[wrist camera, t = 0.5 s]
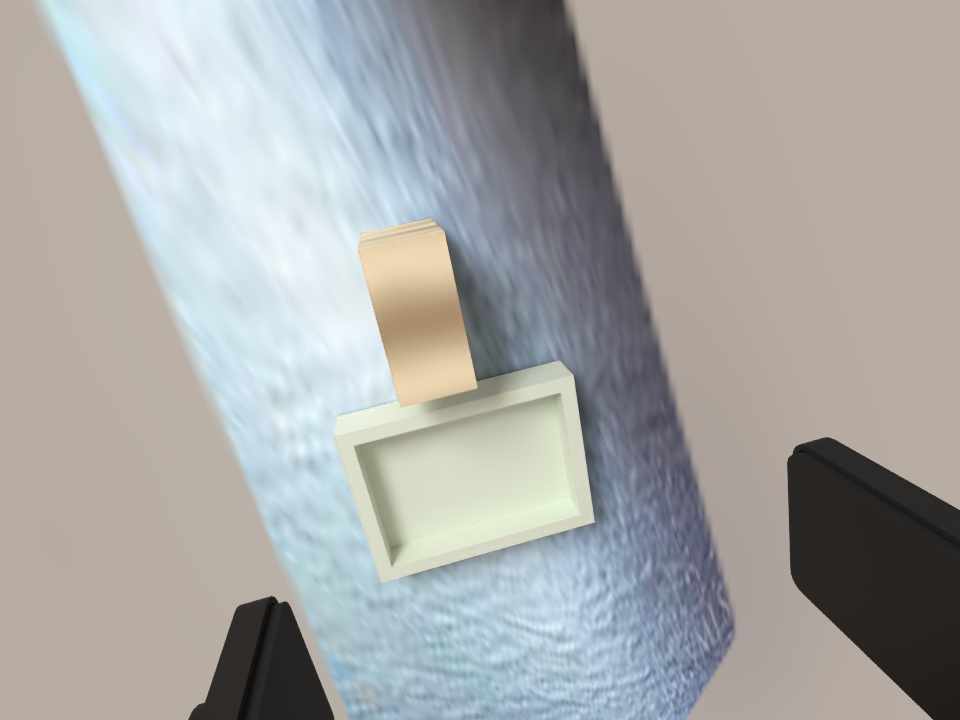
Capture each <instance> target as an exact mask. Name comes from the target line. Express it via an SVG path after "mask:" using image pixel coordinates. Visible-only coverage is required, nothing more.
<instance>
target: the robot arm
mask: <svg viewBox="0 0 960 720" xmlns="http://www.w3.org/2000/svg"><path fill="white" fill-rule="evenodd" d="M787 469H788V470H787V471H788V502H789V533H790V567H791V575H792V578H793V580H794V582H795V584H796V586H797V587H798V589H799V590H800V591H801V592H802V593H803V594H804V595H805V596H806V597H807V598H808V599H809V600H810V601H811V602H812V603H813V604H814V605H815V606H816V607H817V608H818V609H819V610H820V611H821V612H822V613H823V614H825V615H826V616H827V617H828V618H829V619H830V620H831V621H832V622H833V623H834V624H835V625H836V626H837V627H838V628H839V629H840V630H841V631H842V632H843V633H844V634H845V635H846V636H847V637H848V638H849V639H850V640H851V641H852V642H854V643H855V644H856V645H857V646H858V647H859V648H860V649H861V650H862V651H863V652H864V653H865V654H866V655H867V656H868V657H869V658H870V659H871V660H872V661H873V662H874V663H875V664H876V665H877V666H878V667H879V668H881V670H882V671H883V672H884V673H885V674H887V675H888V676H889V677H890V678H891V679H892V680H893V681H894V682H895V683H896V684H897V685H898V686H899V687H900V688H901V689H902V690H903V691H904V692H905V693H906V694H907V695H908V696H909V697H910V698H911V699H912V700H913V701H914V702H915V703H917V705H919V706H920V707H921V708H922V709H923V710H924V711H925V712H926V713H927V714H928V715H929V716H930V717H931V718H932V719H933V720H960V510H959V509H957V508H955V507H953V506H952V505H949V504H948V503H946V502H944V501H943V500H941V499H939V498H937V497H936V496H934V495H932V494H930V493H928V492H927V491H925V490H923V489H921V488H920V487H918V486H916V485H914V484H913V483H911V482H909V481H907V480H905V479H904V478H902V477H900V476H898V475H896V474H895V473H893V472H891V471H889V470H888V469H886V468H884V467H882V466H881V465H879V464H877V463H875V462H873V461H872V460H870V459H868V458H866V457H865V456H863V455H861V454H859V453H858V452H856V451H854V450H852V449H850V448H849V447H847V446H845V445H843V444H841V443H840V442H838V441H836V440H834V439H832V438H828V437H827V438H821V439H818V440H814V441H811V442H807V443H804V444H800V445H798V446H796V447H795V449H794V451H793V455H792V456H790V457H789V458H788V462H787ZM188 720H334V716H333V712H332V710H331V707H330V705H329V702H328V700H327V697H326V695H325V692H324V690H323V687H322V685H321V682H320V680H319V677H318V675H317V672H316V670H315V667H314V665H313V662H312V660H311V657H310V655H309V652H308V650H307V647H306V644H305V642H304V639H303V637H302V634H301V632H300V629H299V627H298V624H297V622H296V619H295V617H294V614H293V612H292V609H291V607H290V605H289V603H287V602H281V603H278V601H277V599H276V598H275V597H272V596H271V597H267V598H263V599H260V600H256V601H253V602H250V603H246V604H242V605H240V606H238V607H237V609H236V611H235V613H234V616H233V619H232V622H231V625H230V628H229V632H228V634H227V637H226V641H225V644H224V647H223V650H222V653H221V656H220V659H219V662H218V665H217V668H216V671H215V674H214V677H213V680H212V683H211V686H210V690H209V692H208V695H207V698H206V701H205V703H202V704H199V705H198V706H197V707H196V708H195V709H194V710H193V711H192V713H191V715H190V717H189V719H188Z"/></svg>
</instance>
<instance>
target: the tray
mask: <svg viewBox="0 0 960 720" xmlns="http://www.w3.org/2000/svg"><path fill="white" fill-rule="evenodd" d="M476 382H477V387H478V388H477V389H473V390H469V391H465V392H461V393H457V394H453V395H450V396H446V397H442V398H438V399H434V400H430V401H426V402H422V403H418V404H414V405H410V406H406V407H402V408H400V404H399V401H396V402H392V403H388V404H384V405H380V406H376V407H372V408H368V409H364V410H360V411H356V412H352V413H348V414H344V415H340V416H336V422H335V430H334V439H335V442H336V445H337V449H338V452H339V455H340V458H341V461H342V464H343V467H344V470H345V473H346V476H347V479H348V482H349V485H350V488H351V491H352V494H353V498H354V501H355V504H356V507H357V510H358V513H359V516H360V519H361V522H362V525H363V528H364V531H365V534H366V537H367V540H368V543H369V547H370V550H371V553H372V556H373V559H374V562H375V565H376V568H377V571H378V574H379V577H380V580H381V583H382V582H386V581H389V580H393V579H397V578H400V577H404V576H407V575H411V574H414V573H418V572H421V571H425V570H428V569H432V568H435V567H439V566H442V565H446V564H450V563H453V562H457V561H460V560H464V559H467V558H471V557H474V556H478V555H481V554H485V553H488V552H492V551H495V550H499V549H503V548H506V547H510V546H513V545H517V544H520V543H524V542H527V541H531V540H534V539H538V538H541V537H545V536H548V535H552V534H556V533H559V532H563V531H566V530H570V529H573V528H577V527H580V526H584V525H587V524H591V523H594V522H595V521H594V514H593V507H592V500H591V493H590V486H589V479H588V472H587V465H586V458H585V452H584V445H583V438H582V431H581V424H580V417H579V410H578V403H577V396H576V389H575V382H574V375H573V374H572V373H571V372H570V371H569V370H568V369H567V368H566V367H565V366H564V365H563V363H562V362H561V361H560V360H559V361H555V362H551V363H547V364H543V365H539V366H535V367H531V368H527V369H523V370H519V371H515V372H511V373H507V374H503V375H499V376H495V377H491V378H487V379H483V380H479V381H476Z"/></svg>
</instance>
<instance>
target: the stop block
mask: <svg viewBox="0 0 960 720" xmlns="http://www.w3.org/2000/svg"><path fill="white" fill-rule="evenodd" d="M358 253H359V257H360V261H361V264H362V268H363V272H364V275H365V279H366V283H367V286H368V290H369V294H370V297H371V301H372V305H373V308H374V312H375V316H376V320H377V323H378V327H379V331H380V334H381V338H382V342H383V345H384V349H385V353H386V356H387V360H388V364H389V367H390V371H391V375H392V378H393V382H394V386H395V389H396V393H397V397H398V401H399V404H400V408H402V407H406V406H410V405H414V404H418V403H422V402H426V401H430V400H434V399H438V398H442V397H446V396H450V395H453V394H457V393H461V392H465V391H469V390H473V389H477V388H478V387H477V382H476V378H475V373H474V368H473V363H472V359H471V354H470V349H469V345H468V340H467V335H466V331H465V326H464V321H463V317H462V312H461V307H460V303H459V298H458V293H457V288H456V284H455V279H454V274H453V270H452V265H451V260H450V256H449V251H448V246H447V242H446V237H445V232H444V231H443V230H442V229H441V228H440V227H439V226H438V225H437V224H436V223H435V222H434V221H433V220H432V219H431V218H429V219H425V220H420V221H415V222H411V223H406V224H402V225H397V226H393V227H388V228H384V229H379V230H375V231H370V232H366V233H361V234H360V239H359V246H358Z"/></svg>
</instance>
